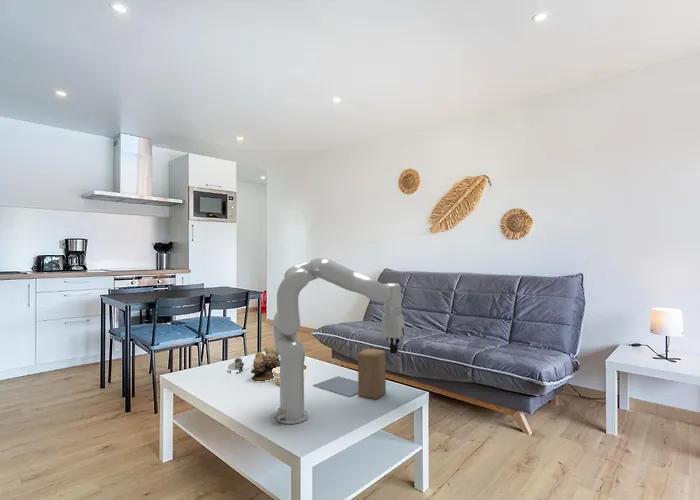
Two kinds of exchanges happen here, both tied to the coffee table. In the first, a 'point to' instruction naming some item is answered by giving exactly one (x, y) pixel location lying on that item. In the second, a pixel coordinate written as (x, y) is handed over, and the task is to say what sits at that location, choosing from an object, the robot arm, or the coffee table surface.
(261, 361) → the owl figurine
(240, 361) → the artificial flower
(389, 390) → the coffee table surface
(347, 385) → the mat
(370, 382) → the wooden block
